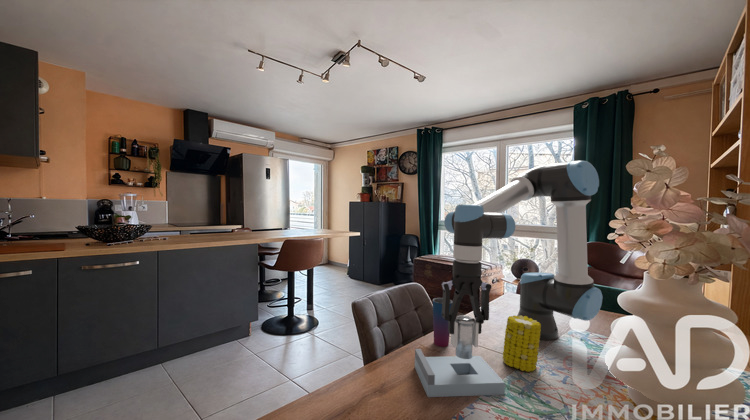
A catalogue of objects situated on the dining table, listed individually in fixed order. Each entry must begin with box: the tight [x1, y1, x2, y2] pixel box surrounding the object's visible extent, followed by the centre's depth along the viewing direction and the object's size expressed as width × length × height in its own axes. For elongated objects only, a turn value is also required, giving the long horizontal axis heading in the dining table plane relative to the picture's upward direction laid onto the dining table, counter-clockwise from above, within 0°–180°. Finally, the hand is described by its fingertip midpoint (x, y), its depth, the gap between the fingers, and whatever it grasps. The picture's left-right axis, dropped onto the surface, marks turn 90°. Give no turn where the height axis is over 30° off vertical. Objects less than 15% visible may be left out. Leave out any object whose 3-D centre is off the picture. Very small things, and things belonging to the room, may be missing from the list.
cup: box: [432, 297, 453, 348], centre depth 104 cm, size 7×7×15 cm
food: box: [502, 315, 541, 373], centre depth 91 cm, size 15×12×10 cm
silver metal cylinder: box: [455, 314, 475, 359], centre depth 82 cm, size 5×5×10 cm
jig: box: [414, 348, 506, 398], centre depth 82 cm, size 20×14×5 cm
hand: (464, 345), depth 82 cm, fingers closed on silver metal cylinder, 5 cm apart
